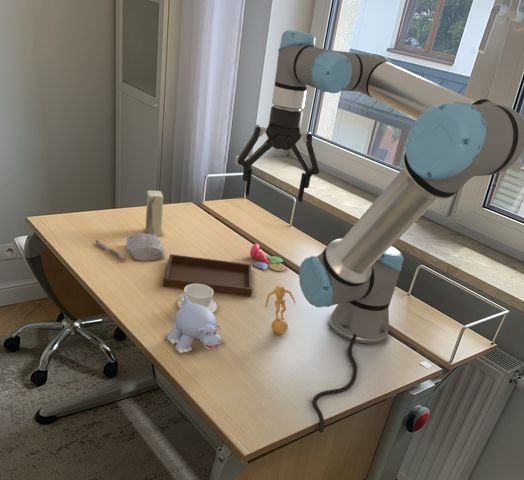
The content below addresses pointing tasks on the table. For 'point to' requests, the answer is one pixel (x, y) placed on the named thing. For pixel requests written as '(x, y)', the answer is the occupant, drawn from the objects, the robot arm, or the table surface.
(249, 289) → the tray
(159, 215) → the box
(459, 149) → the robot arm
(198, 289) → the teacup
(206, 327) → the hippopotamus toy
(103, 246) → the pen
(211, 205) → the table surface
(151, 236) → the stone block
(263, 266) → the toy pieces
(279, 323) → the figurine
